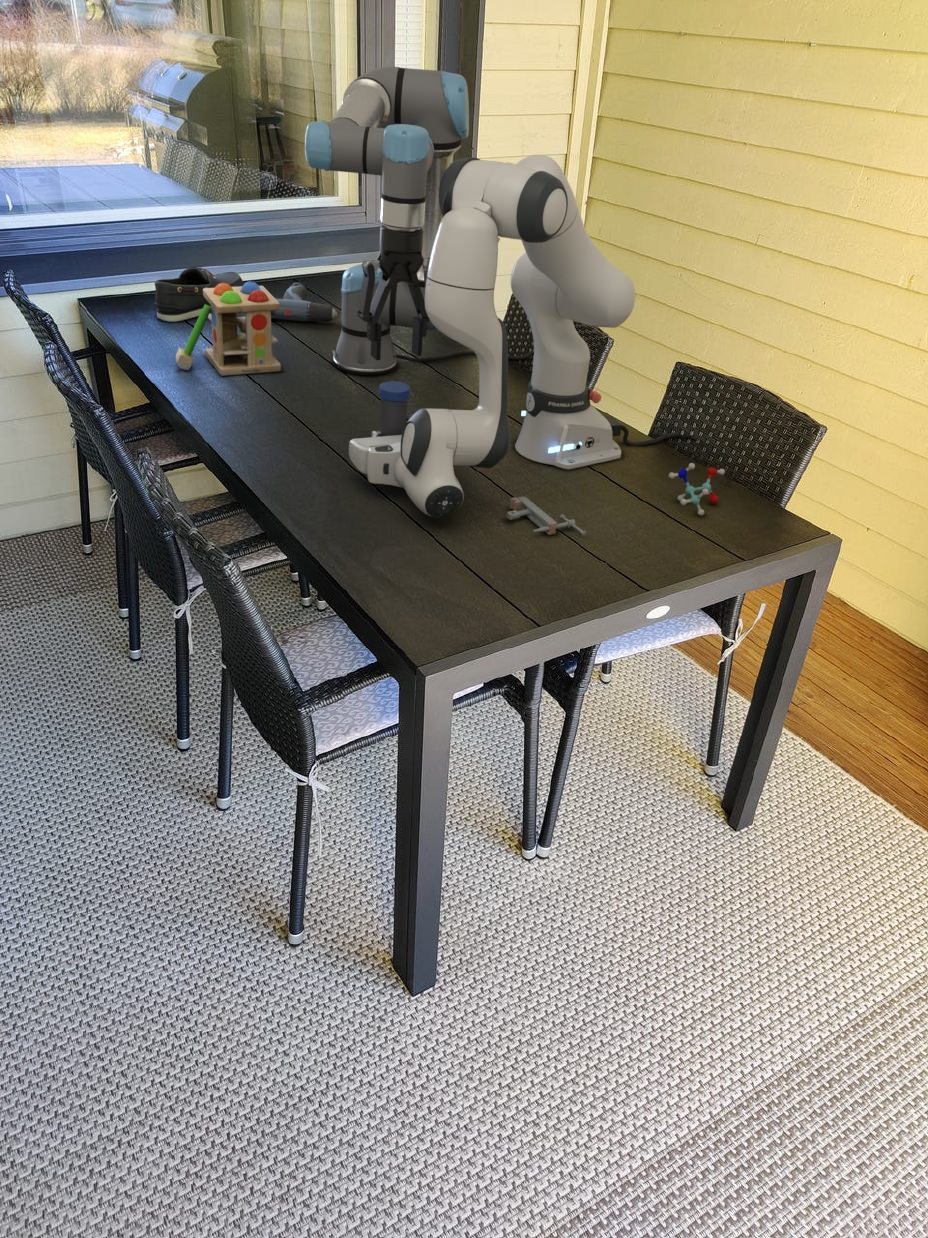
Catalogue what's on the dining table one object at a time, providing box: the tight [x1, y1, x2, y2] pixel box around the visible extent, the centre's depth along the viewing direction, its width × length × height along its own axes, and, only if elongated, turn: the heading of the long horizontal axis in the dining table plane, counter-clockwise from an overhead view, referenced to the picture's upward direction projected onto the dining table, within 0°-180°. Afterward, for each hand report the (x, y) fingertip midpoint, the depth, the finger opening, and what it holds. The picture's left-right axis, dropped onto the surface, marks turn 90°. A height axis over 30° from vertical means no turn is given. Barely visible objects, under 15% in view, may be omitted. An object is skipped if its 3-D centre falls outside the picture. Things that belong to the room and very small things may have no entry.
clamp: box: [506, 496, 587, 537], centre depth 177 cm, size 15×2×10 cm
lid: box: [378, 380, 411, 401], centre depth 185 cm, size 6×6×2 cm
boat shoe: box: [153, 265, 244, 323], centre depth 262 cm, size 13×33×10 cm, turn 147°
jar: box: [379, 397, 409, 436], centre depth 189 cm, size 5×5×16 cm
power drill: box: [271, 282, 338, 322], centre depth 265 cm, size 5×19×20 cm
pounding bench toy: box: [174, 281, 282, 377], centre depth 225 cm, size 23×14×18 cm, turn 116°
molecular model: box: [668, 462, 726, 517], centre depth 188 cm, size 12×10×10 cm
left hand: (396, 355), depth 181 cm, fingers open, 8 cm apart
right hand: (390, 432), depth 191 cm, fingers closed on jar, 5 cm apart
